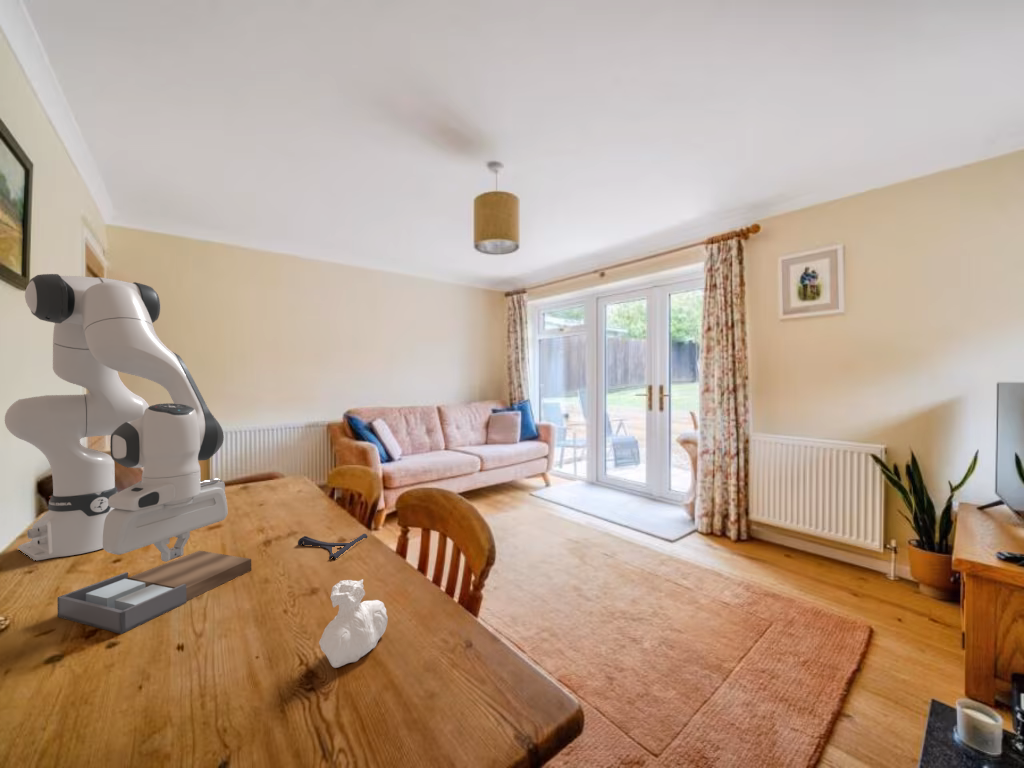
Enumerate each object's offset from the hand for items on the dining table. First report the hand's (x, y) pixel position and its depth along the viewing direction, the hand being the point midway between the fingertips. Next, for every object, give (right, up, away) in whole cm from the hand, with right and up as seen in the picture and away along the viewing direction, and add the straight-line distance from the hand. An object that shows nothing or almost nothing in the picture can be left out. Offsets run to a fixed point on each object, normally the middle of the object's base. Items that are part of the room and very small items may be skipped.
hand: (172, 558), depth 81 cm
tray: (-5, -7, -5) cm, 10 cm away
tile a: (-9, -7, -3) cm, 11 cm away
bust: (+42, -7, -17) cm, 45 cm away
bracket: (+19, -8, +24) cm, 32 cm away
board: (-1, -7, +7) cm, 10 cm away
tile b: (-1, -7, -5) cm, 9 cm away
